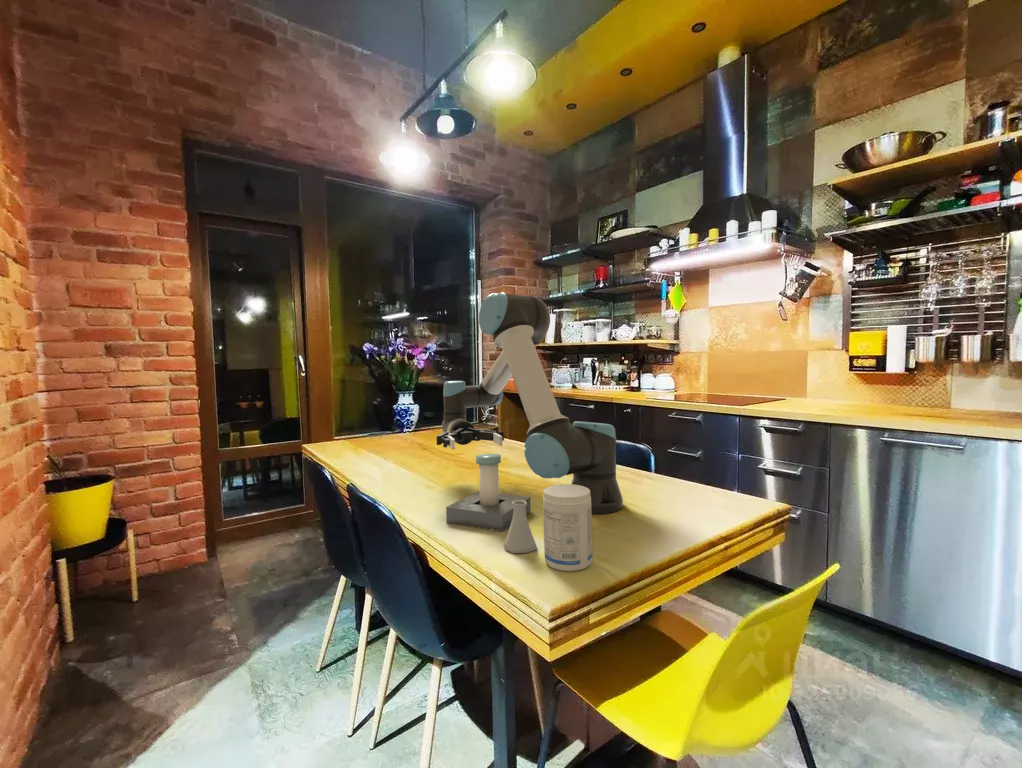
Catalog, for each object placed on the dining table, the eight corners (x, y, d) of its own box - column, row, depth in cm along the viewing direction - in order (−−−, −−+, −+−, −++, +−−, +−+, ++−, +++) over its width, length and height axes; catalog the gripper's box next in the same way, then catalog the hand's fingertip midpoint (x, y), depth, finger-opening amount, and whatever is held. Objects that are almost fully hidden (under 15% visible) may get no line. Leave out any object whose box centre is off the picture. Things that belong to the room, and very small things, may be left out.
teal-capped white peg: (506, 515, 125) (505, 454, 124) (494, 522, 119) (493, 459, 118) (485, 512, 128) (483, 452, 127) (472, 519, 122) (471, 457, 121)
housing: (530, 512, 127) (530, 497, 127) (502, 531, 113) (502, 515, 113) (478, 504, 134) (478, 490, 134) (446, 522, 120) (446, 506, 120)
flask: (511, 557, 98) (510, 509, 98) (498, 545, 105) (497, 500, 104) (543, 550, 101) (542, 504, 101) (528, 539, 108) (527, 495, 107)
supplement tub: (567, 549, 102) (566, 481, 101) (602, 563, 94) (601, 489, 94) (534, 562, 95) (532, 489, 95) (568, 578, 88) (567, 499, 87)
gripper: (498, 440, 157) (520, 452, 137) (422, 445, 149) (433, 459, 129) (498, 417, 156) (519, 426, 136) (421, 421, 148) (432, 432, 128)
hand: (477, 442), depth 132 cm, fingers open, 13 cm apart
